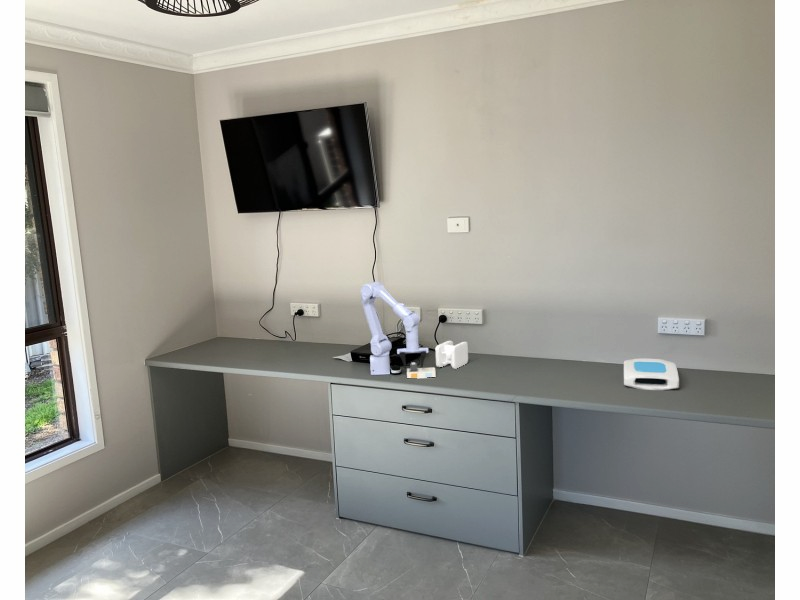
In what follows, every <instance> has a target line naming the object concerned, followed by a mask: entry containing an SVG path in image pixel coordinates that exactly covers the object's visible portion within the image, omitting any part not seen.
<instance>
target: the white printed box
mask: <svg viewBox="0 0 800 600" xmlns="http://www.w3.org/2000/svg"><path fill="white" fill-rule="evenodd" d="M436 374H437V373H436V367H423V368H421V367H417V372H411V370H410V368H409V367H408V368H406V378H417V379H428V378H427V377H437V375H436Z"/></svg>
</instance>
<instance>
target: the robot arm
mask: <svg viewBox="0 0 800 600" xmlns="http://www.w3.org/2000/svg"><path fill="white" fill-rule="evenodd" d="M359 290H360V291H359V292H360V295H361V300H360V303H361V306H362V309H363V312H364V316H365V319H366V322H367V325H368V327H369V331H370V334H371V339H370V342H369V343H370V352H371V353H372V354H371V355H370V356H369V362H370V364H369V365H370V367H369V369H370V370H369V371H370V376H378V375H379V376H381V375H383V376H384V375H391V374H390V369H391V367H390V366H391V365H390V351H391V349H392V342H391V341H390V340H389V338H388V336H387V335H386V334H385V333H384V332H383V329H382V326H381V323H380V319H379V316H378V314H377V309H376V306H375V304H374V302H375V301H376V298H379V299H381V300H382V301H384V302H385V303H386V304H388V306H390V307H391V308H392V312H393V313H394V315H396V316H397V317H398V318H399V319H400V320H402V324H403V326H404V329H405V343H406V344H405V345H406V348H405V347H404V348H397V349H396V353H397V355H399V357H400V359H401V361H402V364H403V367H404V369H405V370H407V364H406V354H420V368H424V366H423V365H424V361H425V358H426V357H427V354H428V353H429V347H420V346H419V345H420V344H419V327H418V325H419V323H420V322H421V319H420V316H419V314H418V313H416V312H412V310H410V309H409V308H408V307H407V306H406V303H402V302H398V301H397V300H396V299H395V298H394V297H393V296H392V295H391V294H390V293H389V291H387V290H386V287H385V285H383V284H382V283H381V282H380V281H376V280H375V281H373V282H370V283H364V284H363V285H362V286H361V288H360V289H359Z"/></svg>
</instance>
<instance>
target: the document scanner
mask: <svg viewBox="0 0 800 600" xmlns="http://www.w3.org/2000/svg"><path fill="white" fill-rule="evenodd" d="M636 379H659V380H664V381H665V383H641V382H636ZM623 386H626V387H630V388H633V389H637V390H646V391H648V390H649V391H650V390H651V391H666V390H673V389H678V388H680V377H679V372H678V369H677V365H676V363H675V362H673V361H669V360H666V359H662V358H649V357H648V358H644V357H641V358H632V359H626V360H624V361H623Z"/></svg>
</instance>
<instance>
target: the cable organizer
mask: <svg viewBox="0 0 800 600" xmlns="http://www.w3.org/2000/svg"><path fill="white" fill-rule="evenodd" d="M468 345H469V343H468V341H462V342H459V343H458V344H457V343H456V344H455V345H454V342H453V341H452V340H447V341H444V342H441V343H440V344H437V345H436V346H435V348H434V349H435V350H434V351H435V366H436V367H437V368H440V367H442V368H444V367H445V366H447V365H449V364H450V366H451V367H452V369H454V370H458V369H460V368H461V367H464V366H465V364H466V365H467V364H468V362H469V348H468V347H469V346H468ZM463 365H464V366H463ZM443 366H444V367H443ZM459 367H460V368H459ZM457 368H458V369H457Z"/></svg>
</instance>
